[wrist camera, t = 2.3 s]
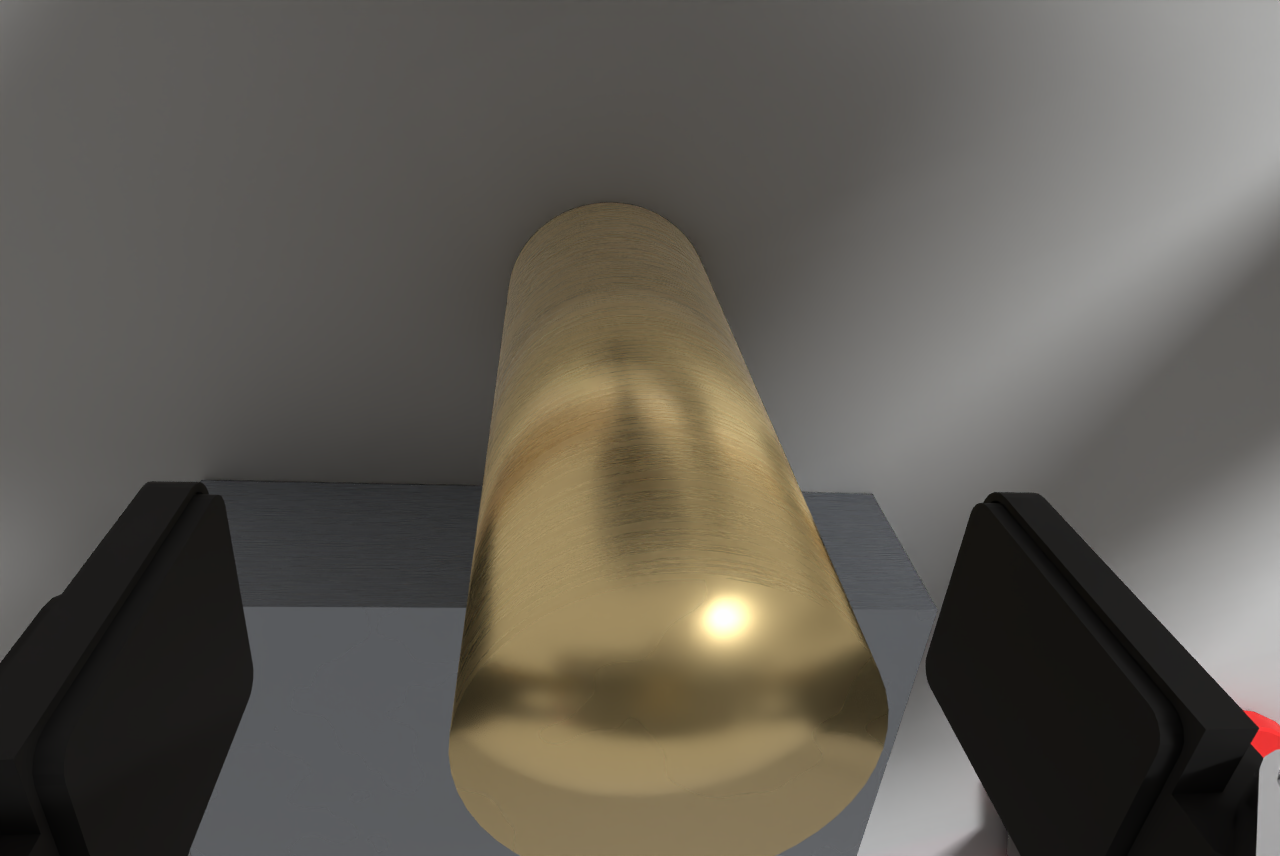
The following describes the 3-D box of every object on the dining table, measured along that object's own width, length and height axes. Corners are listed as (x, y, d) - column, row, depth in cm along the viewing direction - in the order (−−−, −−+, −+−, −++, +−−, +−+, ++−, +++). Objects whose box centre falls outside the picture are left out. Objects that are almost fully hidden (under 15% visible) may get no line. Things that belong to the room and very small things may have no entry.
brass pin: (508, 195, 16) (441, 577, 7) (719, 208, 17) (938, 582, 7) (507, 386, 18) (453, 891, 9) (695, 393, 19) (841, 878, 9)
